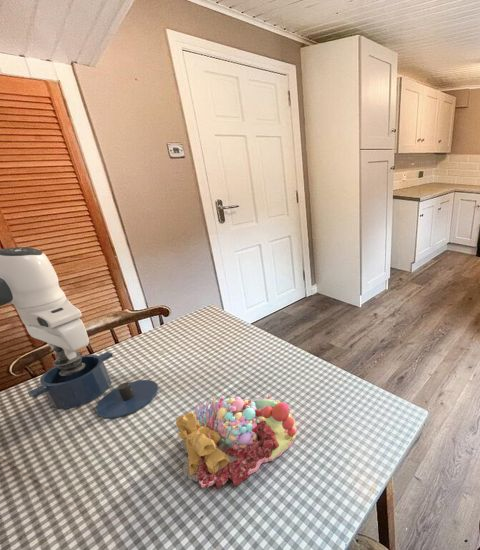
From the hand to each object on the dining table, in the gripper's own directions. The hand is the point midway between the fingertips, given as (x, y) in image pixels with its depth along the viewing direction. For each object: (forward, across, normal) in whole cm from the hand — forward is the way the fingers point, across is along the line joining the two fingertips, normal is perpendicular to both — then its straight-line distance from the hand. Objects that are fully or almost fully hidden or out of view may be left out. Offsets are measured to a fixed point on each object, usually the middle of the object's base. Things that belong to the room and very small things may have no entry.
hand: (66, 355), depth 81 cm
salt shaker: (+5, 0, 0) cm, 5 cm away
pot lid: (+12, +15, +3) cm, 20 cm away
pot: (+13, 0, 0) cm, 13 cm away
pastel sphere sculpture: (+13, +52, +5) cm, 54 cm away
